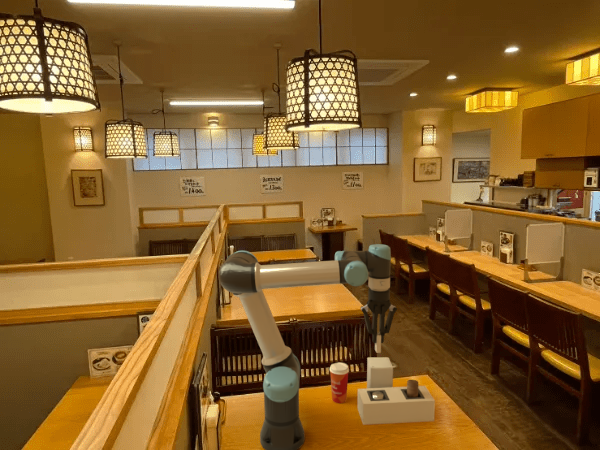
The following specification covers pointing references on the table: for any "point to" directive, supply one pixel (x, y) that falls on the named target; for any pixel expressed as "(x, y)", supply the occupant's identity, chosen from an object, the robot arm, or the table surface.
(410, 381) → the walnut peg
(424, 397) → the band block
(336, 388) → the paper cup
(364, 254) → the robot arm
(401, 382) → the table surface
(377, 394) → the metal peg
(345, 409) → the table surface
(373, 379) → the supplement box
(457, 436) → the table surface
